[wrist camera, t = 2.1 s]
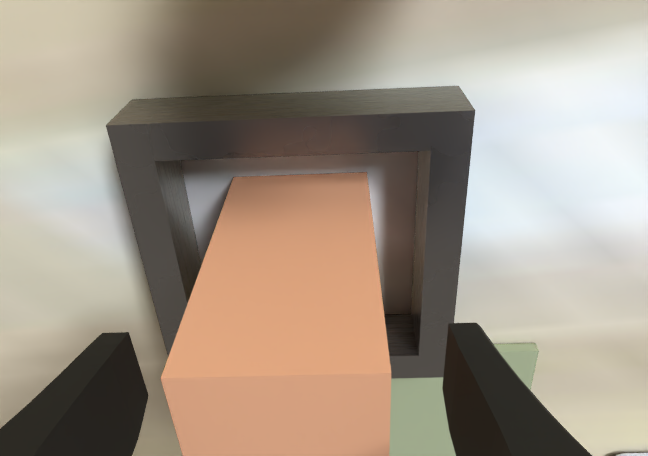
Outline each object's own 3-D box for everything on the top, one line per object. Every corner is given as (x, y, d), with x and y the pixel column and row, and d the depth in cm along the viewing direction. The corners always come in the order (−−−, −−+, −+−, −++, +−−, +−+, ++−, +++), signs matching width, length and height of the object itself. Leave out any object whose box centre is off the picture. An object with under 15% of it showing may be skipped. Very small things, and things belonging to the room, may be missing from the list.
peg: (366, 171, 16) (391, 372, 9) (367, 280, 18) (387, 509, 11) (233, 176, 16) (160, 378, 9) (249, 283, 18) (199, 512, 11)
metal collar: (458, 86, 15) (474, 110, 13) (438, 335, 19) (448, 377, 18) (131, 99, 15) (105, 125, 13) (189, 341, 20) (175, 383, 18)
